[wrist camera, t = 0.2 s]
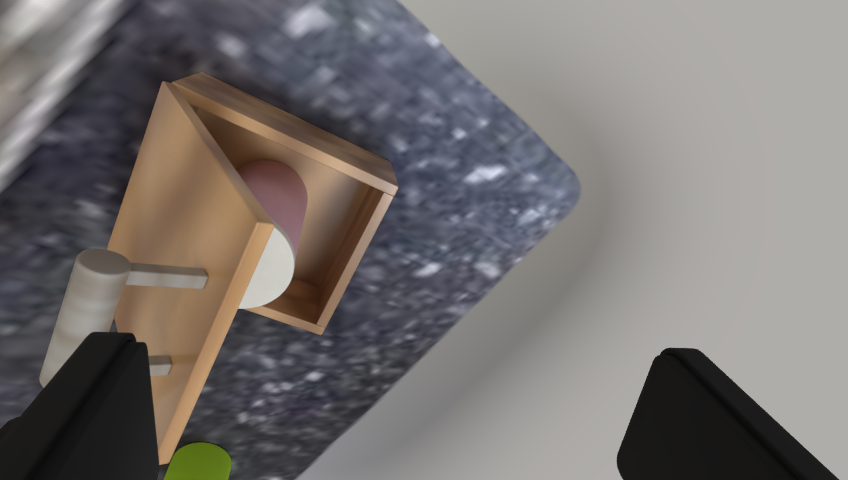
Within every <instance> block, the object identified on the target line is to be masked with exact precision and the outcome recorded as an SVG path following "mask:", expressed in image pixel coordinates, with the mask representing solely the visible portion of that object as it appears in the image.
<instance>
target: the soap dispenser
mask: <svg viewBox="0 0 848 480" xmlns="http://www.w3.org/2000/svg"><path fill="white" fill-rule="evenodd" d="M231 465H232V462H231V458H230V456H229V454H228V453H227V452H226V451H225V450H224V449H222V448H221V447H219V446H217V445H214V444H210V443H203V442H200V443H192V444H188V445H186V446H183V447H182V448H180V449H179V450H178V451H177V452H176V453H175V454H174V455H173V457H172V460H171V462H170V465H169V467H168V470H167V472H166V475H165V477H164V480H228V478H229V474H230V470H231Z"/></svg>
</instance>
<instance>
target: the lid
mask: <svg viewBox="0 0 848 480" xmlns="http://www.w3.org/2000/svg"><path fill="white" fill-rule="evenodd" d="M274 226H275V225H274V223H273V222H272V220H271V219H270V217H269V216H268V215H267V213H266V212H265V210H264V209H263V208H262V206H261V205H260V203H259V202H258V200H257V199H256V198H255V196H254V195H253V193H252V192H251V191H250V189H249V188H248V186H247V185H246V184H245V182H244V181H243V179H242V178H241V176H240V175H239V174H238V172H237V171H236V169H235V168H234V167H233V165H232V164H231V162H230V161H229V160H228V158H227V157H226V155H225V154H224V153H223V151H222V150H221V148H220V147H219V145H218V144H217V143H216V141H215V140H214V138H213V137H212V136H211V134H210V133H209V131H208V130H207V129H206V127H205V126H204V124H203V123H202V121H201V120H200V119H199V117H198V116H197V114H196V113H195V112H194V110H193V109H192V107H191V106H190V105H189V103H188V102H187V100H186V99H185V98H184V96H183V95H182V93H181V92H180V90H179V89H178V88H177V86H176V85H174V84H171V83H168V82H165V81H163V82H162V84H161V87H160V90H159V93H158V96H157V99H156V102H155V105H154V108H153V111H152V114H151V117H150V120H149V123H148V126H147V129H146V132H145V135H144V138H143V141H142V144H141V147H140V150H139V153H138V156H137V160H136V163H135V166H134V169H133V172H132V175H131V178H130V181H129V184H128V187H127V190H126V193H125V196H124V199H123V202H122V205H121V208H120V211H119V214H118V217H117V220H116V223H115V226H114V229H113V232H112V235H111V238H110V241H109V244H108V247H107V250H106V249H88V250H85V251H82V252H81V253H80V254H79V255H78V256H77V257H76V261H75V264H74V267H73V270H72V274H71V277H70V280H69V283H68V287H67V290H66V293H65V296H64V299H63V303H62V306H61V309H60V312H59V316H58V319H57V322H56V325H55V329H54V332H53V335H52V338H51V342H50V345H49V348H48V351H47V354H46V358H45V361H44V364H43V367H42V371H41V374H40V383H41V385H42V386H43V387H45V386H46V385H47V384H48V383H49V381H50V380H51V379H52V378H53V377H54V375H55V374H56V373H57V372H58V371H59V369H60V368H61V367H62V366H63V364H64V363H65V362H66V361H67V360H68V358H69V357H70V356H71V355H72V354H73V352H74V351H75V350H76V349H77V348H78V346H79V345H80V344H81V343H82V342H83V340H84V339H85V338H86V337H87V336H88V335H89V334H90V333H92V332H109V330H110V327H111V324H112V322H113V319H114V318H115V322H116V326H117V330H118V332H125V333H132V334H134V336H135V338H136V342H145V343H146V345H147V348H148V356H149V366H150V376H151V386H152V396H153V406H154V415H155V425H156V435H157V445H158V455H159V465H162V464H167V463H169V462H170V460H171V457H172V455H173V453H174V451H175V449H176V446H177V444H178V442H179V440H180V437H181V435H182V433H183V431H184V428H185V426H186V424H187V422H188V419H189V417H190V415H191V413H192V410H193V408H194V406H195V404H196V401H197V399H198V397H199V395H200V392H201V390H202V388H203V386H204V383H205V381H206V379H207V377H208V375H209V372H210V370H211V368H212V366H213V363H214V361H215V359H216V357H217V354H218V352H219V350H220V348H221V345H222V343H223V341H224V339H225V336H226V334H227V332H228V330H229V327H230V325H231V323H232V321H233V318H234V316H235V314H236V312H237V309H238V307H239V305H240V303H241V301H242V298H243V296H244V294H245V292H246V289H247V287H248V285H249V283H250V280H251V278H252V276H253V274H254V271H255V269H256V267H257V265H258V262H259V260H260V258H261V256H262V253H263V251H264V249H265V247H266V244H267V242H268V240H269V238H270V235H271V233H272V231H273V229H274Z"/></svg>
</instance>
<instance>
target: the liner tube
mask: <svg viewBox="0 0 848 480" xmlns="http://www.w3.org/2000/svg"><path fill="white" fill-rule="evenodd" d="M237 172H238V174H239V175H240V176H241V178H242V179H243V181H244V182H245V184H246V185H247V186H248V188H249V189H250V191H251V192H252V193H253V195H254V196H255V198H256V199H257V200H258V202H259V203H260V205H261V206H262V208H263V209H264V210H265V212H266V213H267V215H268V216H269V217H270V219H271V220H272V222H273V223H274V225H275V226H274V229H273V231H272V233H271V235H270V238H269V240H268V242H267V244H266V247H265V249H264V251H263V253H262V256H261V258H260V260H259V262H258V265H257V267H256V269H255V271H254V274H253V276H252V278H251V280H250V283H249V285H248V287H247V289H246V292H245V294H244V296H243V298H242V301H241V303H240V305H239V307H238V309H247V308H254V307H259V306H262V305H265V304H267V303H269V302H271V301H273V300H274V299H276V298H277V297H279V296H280V295H281V294H282V293H283V292H284V291H285V290H286V288H287V287H288V285H289V283H290V281H291V279H292V276H293V273H294V268H295V260H296V255H297V250H298V246H299V241H300V236H301V232H302V227H303V222H304V218H305V213H306V208H307V203H308V196H307V191H306V187H305V185H304V183H303V181H302V179H301V178H300V177H299V175H298V174H297V173H296V172H295V171H293V170H292V169H291V168H289V167H288V166H286V165H284V164H282V163H279V162H276V161H270V160H260V161H254V162H251V163H249V164H246V165H245V166H243V167H242V168H240V169H239V170H238V171H237Z"/></svg>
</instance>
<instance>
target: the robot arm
mask: <svg viewBox="0 0 848 480" xmlns="http://www.w3.org/2000/svg"><path fill="white" fill-rule="evenodd" d="M617 466H618V470H619V473H620V475H621V476H622V478H623V480H839V479H838V478H837V477H836V476H835V475H833V474H832V473H831V472H830V471H829V470H828V469H827V468H826V467H825V466H824V465H823V464H822V463H821V462H819V461H818V460H817V459H816V458H815V457H814V456H813V455H812V454H811V453H810V452H809V451H808V450H806V449H805V448H804V447H803V446H802V445H801V444H800V443H799V442H798V441H797V440H796V439H795V438H794V437H793V436H791V435H790V434H789V433H788V432H787V431H786V430H785V429H784V428H783V427H782V426H781V425H780V424H779V423H778V422H776V421H775V420H774V419H773V418H772V417H771V416H770V415H769V414H768V413H767V412H765V410H763V409H762V408H761V407H760V406H759V405H758V404H757V403H756V402H755V401H754V400H753V399H752V398H751V397H749V396H748V395H747V394H746V393H745V392H744V391H743V390H742V389H741V388H740V387H739V386H738V385H737V384H736V383H734V382H733V381H732V380H731V379H730V378H729V377H728V376H727V375H726V374H725V373H724V372H723V371H722V370H720V369H719V368H718V367H717V366H716V365H715V364H714V363H713V362H712V361H711V360H710V359H709V358H708V357H706V356H705V355H704V354H703V353H702V352H701V351H699V350H697V349H692V348H667V349H665V350H663V351H662V352H661V354H660V355H659V356H657V357H655V359H654V360H653V363H652V365H651V368H650V371H649V373H648V376H647V378H646V381H645V384H644V386H643V389H642V391H641V394H640V397H639V399H638V402H637V404H636V407H635V410H634V413H633V415H632V418H631V420H630V423H629V425H628V428H627V431H626V433H625V436H624V439H623V441H622V444H621V446H620V449H619V452H618V455H617ZM158 472H159V455H158V445H157V435H156V425H155V415H154V406H153V396H152V386H151V376H150V366H149V356H148V348H147V345H146V343H145V342H136V338H135V336H134V334H132V333H125V332H92V333H90V334H89V335H88V336H87V337H86V338H85V339H84V340H83V342H82V343H81V344H80V345H79V346H78V348H77V349H76V350H75V351H74V352H73V354H72V355H71V356H70V357H69V358H68V360H67V361H66V362H65V363H64V364H63V366H62V367H61V368H60V369H59V371H58V372H57V373H56V374H55V375H54V377H53V378H52V379H51V380H50V381H49V383H48V384H47V385H46V386H45V387H44V389H43V390H42V391H41V392H40V393H39V395H38V396H37V397H36V398H35V399H34V401H33V402H32V403H31V404H30V406H29V407H28V408H27V409H26V410H25V412H24V413H23V414H22V415H21V416H20V417H16V418H14V419H12V420H10V421H8V422H7V423H6V424H5V425H4V426H3V427H2V428H1V429H0V480H157V477H158Z"/></svg>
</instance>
